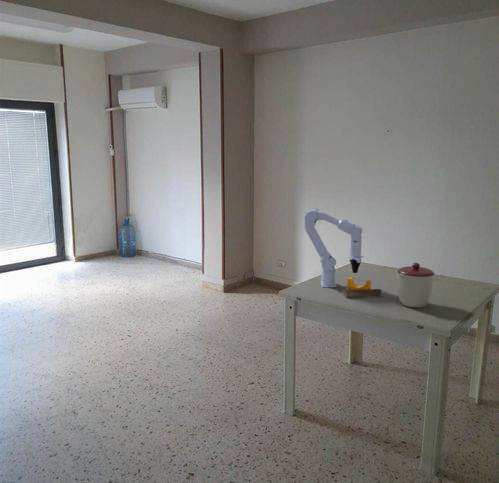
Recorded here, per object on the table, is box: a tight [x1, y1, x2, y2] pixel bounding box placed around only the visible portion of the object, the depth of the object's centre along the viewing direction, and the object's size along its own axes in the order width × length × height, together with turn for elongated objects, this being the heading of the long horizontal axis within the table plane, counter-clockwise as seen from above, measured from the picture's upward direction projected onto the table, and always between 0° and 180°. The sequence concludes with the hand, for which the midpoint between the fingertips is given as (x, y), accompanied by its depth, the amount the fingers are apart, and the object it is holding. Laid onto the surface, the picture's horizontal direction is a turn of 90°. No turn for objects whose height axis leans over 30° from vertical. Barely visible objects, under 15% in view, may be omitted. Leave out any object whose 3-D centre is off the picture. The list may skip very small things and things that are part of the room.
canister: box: [395, 262, 436, 309], centre depth 235 cm, size 18×18×21 cm
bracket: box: [342, 288, 382, 299], centre depth 252 cm, size 6×18×4 cm, turn 94°
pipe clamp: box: [346, 276, 372, 290], centre depth 259 cm, size 12×4×6 cm, turn 62°
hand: (355, 272), depth 264 cm, fingers closed
